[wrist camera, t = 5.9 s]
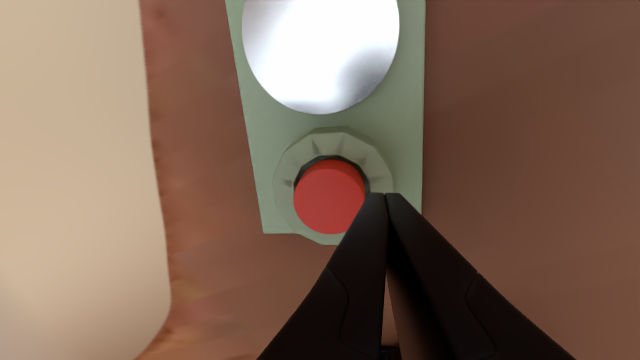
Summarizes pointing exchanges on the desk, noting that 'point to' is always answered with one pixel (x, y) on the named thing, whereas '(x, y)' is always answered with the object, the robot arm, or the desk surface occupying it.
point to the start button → (329, 196)
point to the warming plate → (320, 50)
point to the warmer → (337, 130)
